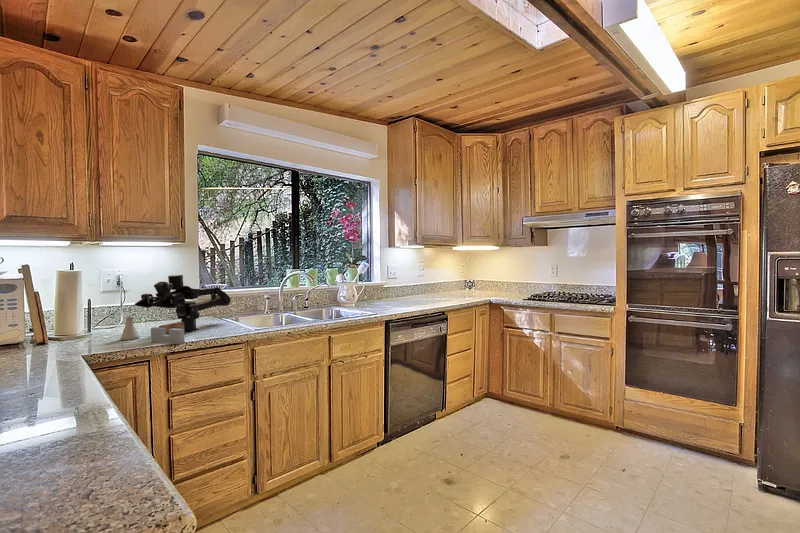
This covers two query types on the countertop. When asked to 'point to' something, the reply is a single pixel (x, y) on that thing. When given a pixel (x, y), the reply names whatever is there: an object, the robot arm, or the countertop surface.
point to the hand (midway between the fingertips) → (143, 304)
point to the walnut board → (173, 326)
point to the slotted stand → (160, 335)
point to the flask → (129, 330)
